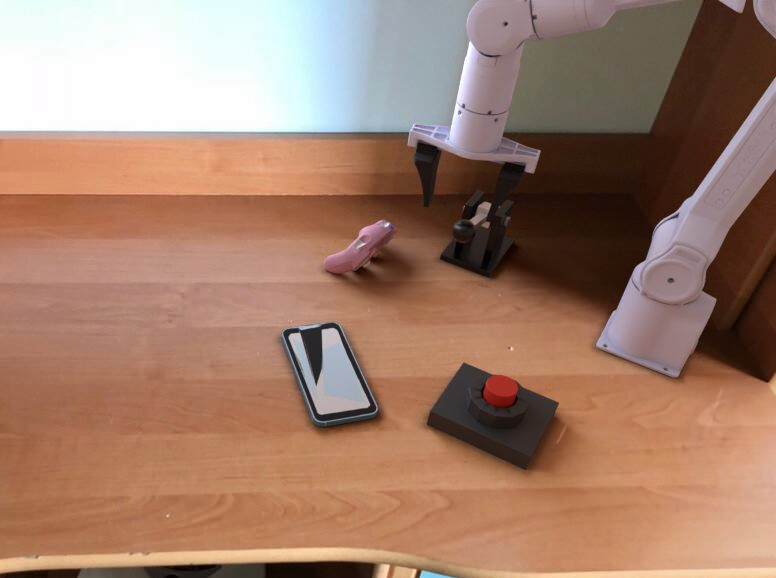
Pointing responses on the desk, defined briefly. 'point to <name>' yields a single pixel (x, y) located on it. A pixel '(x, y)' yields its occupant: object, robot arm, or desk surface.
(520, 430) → the button box
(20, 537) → the desk surface
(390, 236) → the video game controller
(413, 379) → the desk surface
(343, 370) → the smartphone
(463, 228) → the press lever
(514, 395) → the button
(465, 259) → the bracket
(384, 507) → the desk surface
